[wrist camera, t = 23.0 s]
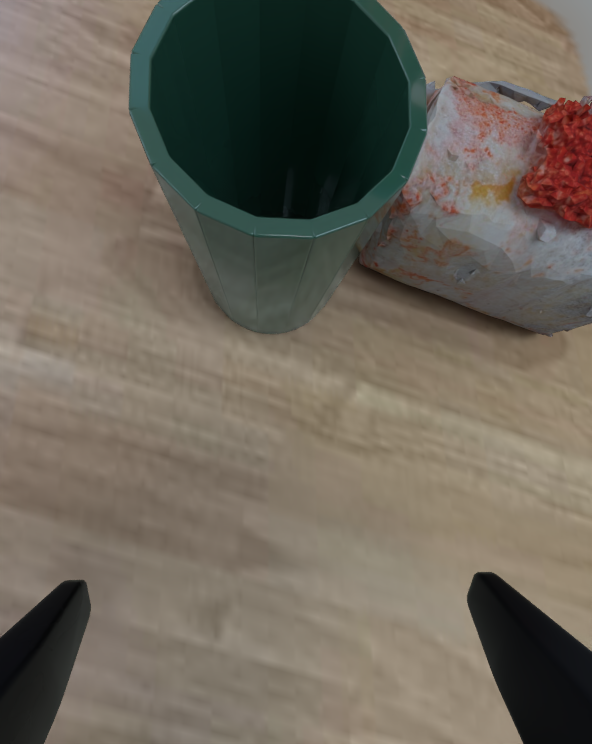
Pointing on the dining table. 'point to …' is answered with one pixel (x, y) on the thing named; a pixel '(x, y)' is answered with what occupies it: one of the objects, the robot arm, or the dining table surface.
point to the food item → (497, 207)
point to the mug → (277, 141)
